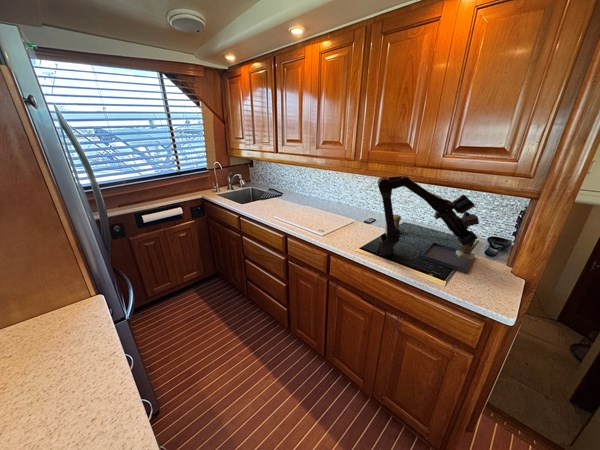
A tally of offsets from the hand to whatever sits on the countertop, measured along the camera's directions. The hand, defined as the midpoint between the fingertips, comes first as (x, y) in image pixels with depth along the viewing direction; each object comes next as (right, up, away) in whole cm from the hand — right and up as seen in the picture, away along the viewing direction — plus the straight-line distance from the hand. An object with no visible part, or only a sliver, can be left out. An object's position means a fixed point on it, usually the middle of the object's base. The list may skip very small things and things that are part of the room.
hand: (471, 244), depth 109 cm
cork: (-21, +4, +37) cm, 42 cm away
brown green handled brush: (-1, -6, +3) cm, 7 cm away
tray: (-5, -7, +9) cm, 13 cm away
